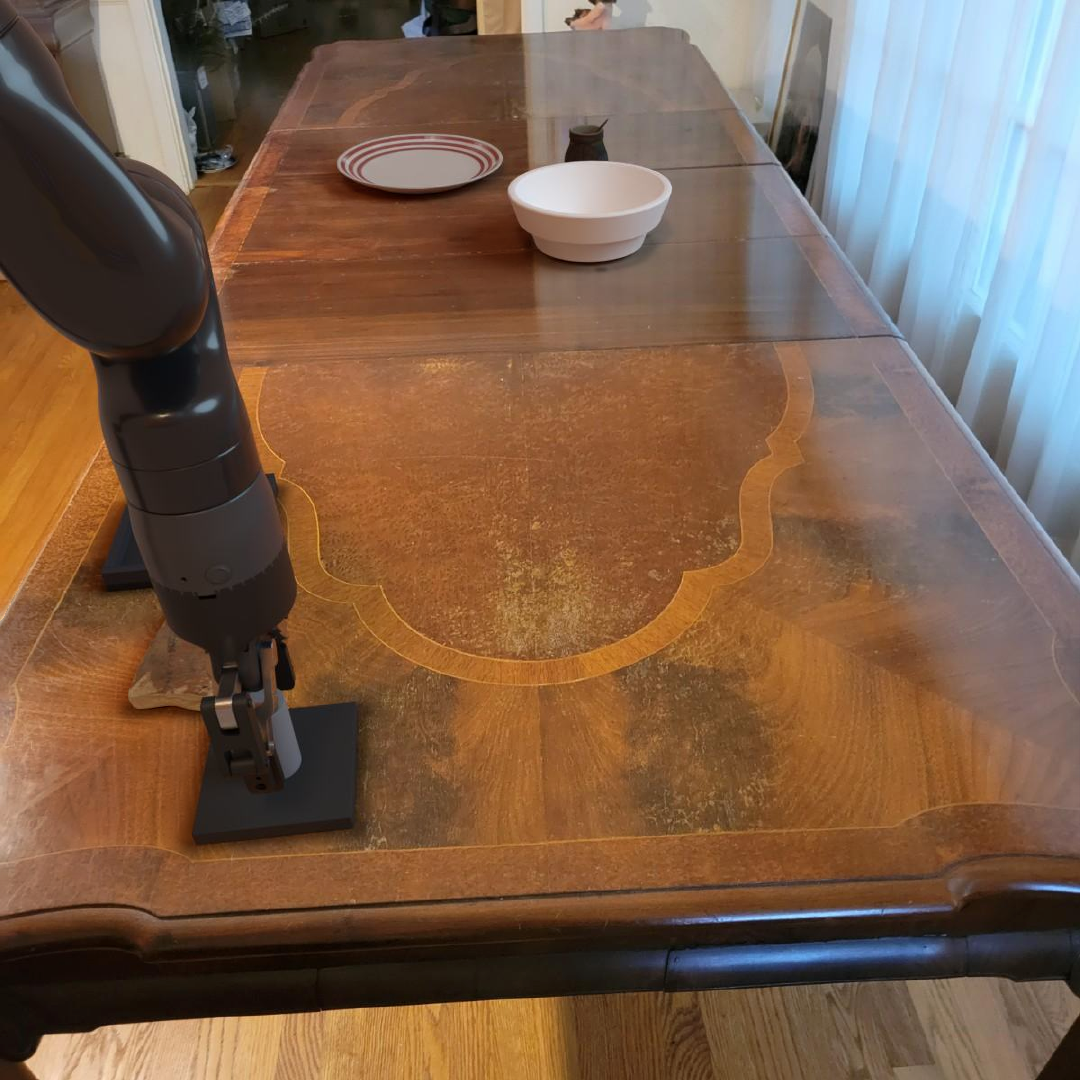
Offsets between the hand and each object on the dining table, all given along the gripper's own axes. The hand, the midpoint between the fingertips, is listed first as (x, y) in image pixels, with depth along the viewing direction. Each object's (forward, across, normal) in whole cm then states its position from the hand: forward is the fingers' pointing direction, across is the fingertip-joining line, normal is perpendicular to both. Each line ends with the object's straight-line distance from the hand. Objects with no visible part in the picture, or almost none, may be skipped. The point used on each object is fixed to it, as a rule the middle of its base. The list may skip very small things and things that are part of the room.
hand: (274, 735), depth 64 cm
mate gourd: (+5, -117, +39) cm, 123 cm away
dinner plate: (+4, -124, +12) cm, 125 cm away
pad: (+4, 0, 0) cm, 4 cm away
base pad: (+4, -28, -10) cm, 30 cm away
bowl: (+5, -89, +35) cm, 96 cm away
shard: (+4, -11, -10) cm, 15 cm away
